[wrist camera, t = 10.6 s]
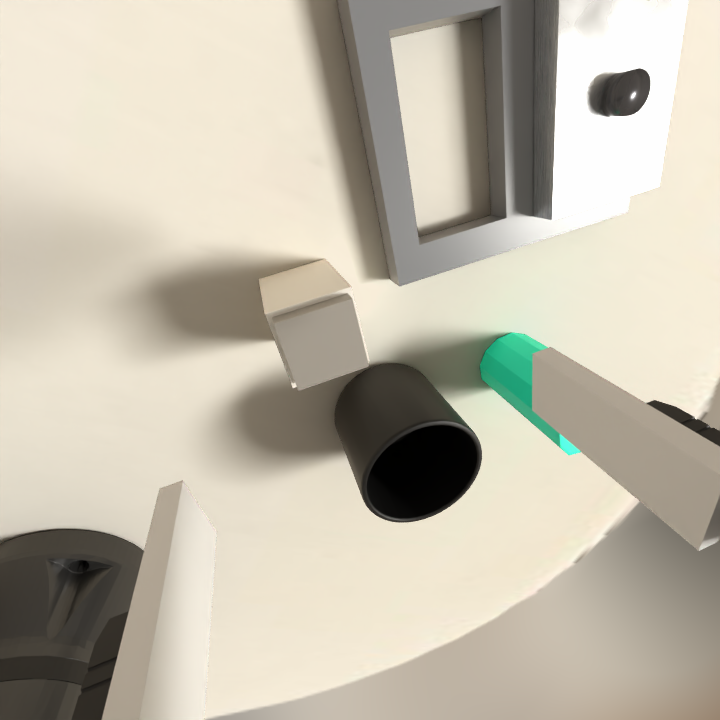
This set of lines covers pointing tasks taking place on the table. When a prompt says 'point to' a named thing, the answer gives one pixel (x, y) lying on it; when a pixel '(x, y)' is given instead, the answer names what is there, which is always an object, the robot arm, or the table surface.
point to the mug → (405, 444)
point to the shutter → (601, 99)
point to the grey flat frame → (504, 132)
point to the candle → (518, 379)
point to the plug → (314, 323)
